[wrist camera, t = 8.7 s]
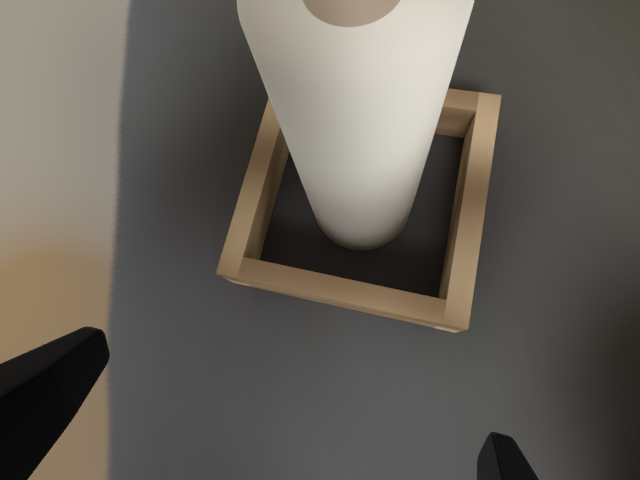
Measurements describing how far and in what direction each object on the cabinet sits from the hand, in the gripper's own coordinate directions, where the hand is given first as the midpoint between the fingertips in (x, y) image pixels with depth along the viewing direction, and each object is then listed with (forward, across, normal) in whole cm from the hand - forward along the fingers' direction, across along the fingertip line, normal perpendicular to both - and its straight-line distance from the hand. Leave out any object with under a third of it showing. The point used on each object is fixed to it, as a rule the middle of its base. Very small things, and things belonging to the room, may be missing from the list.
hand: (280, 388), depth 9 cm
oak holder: (+13, 0, +1) cm, 13 cm away
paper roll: (+13, 0, +1) cm, 13 cm away
